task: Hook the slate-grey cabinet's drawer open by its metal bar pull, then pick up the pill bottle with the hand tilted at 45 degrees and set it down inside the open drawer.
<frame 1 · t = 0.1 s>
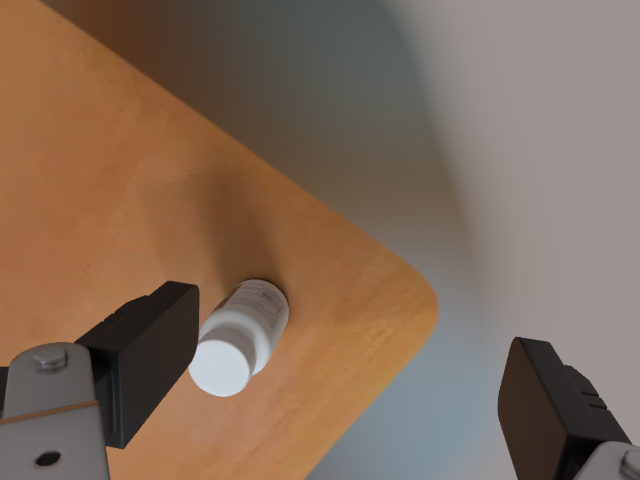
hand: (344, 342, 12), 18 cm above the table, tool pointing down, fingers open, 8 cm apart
pill bottle: (259, 306, 33), on the table
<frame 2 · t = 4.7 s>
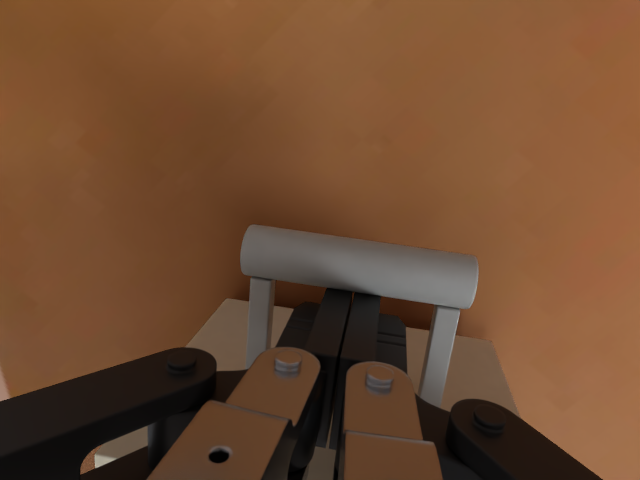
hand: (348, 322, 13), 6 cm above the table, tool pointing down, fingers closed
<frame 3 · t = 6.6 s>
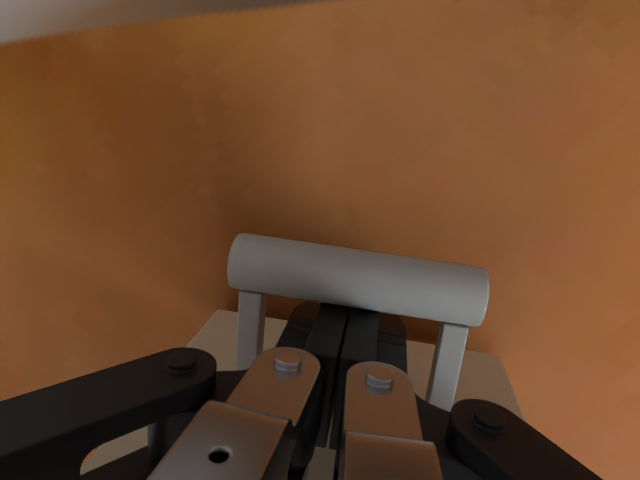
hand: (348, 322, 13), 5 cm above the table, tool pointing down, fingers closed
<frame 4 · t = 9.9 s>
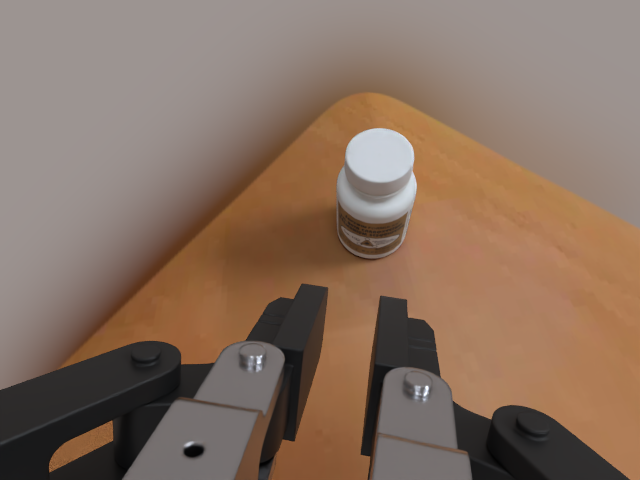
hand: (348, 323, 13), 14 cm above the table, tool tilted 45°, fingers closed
pill bottle: (371, 231, 31), on the table
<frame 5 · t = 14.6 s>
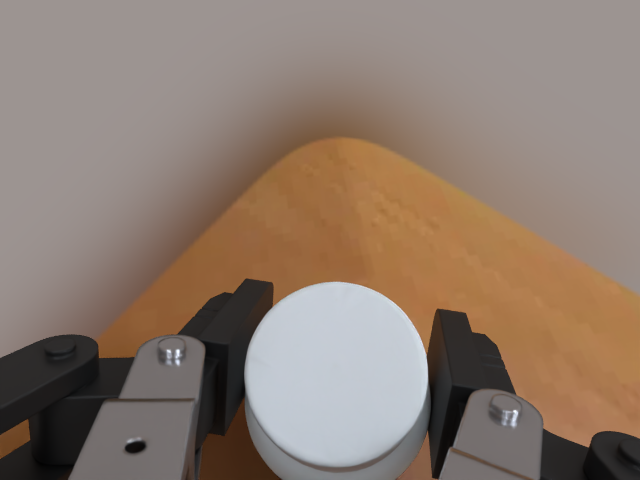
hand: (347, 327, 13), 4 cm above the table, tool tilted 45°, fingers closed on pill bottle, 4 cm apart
pill bottle: (337, 422, 16), on the table, touching gripper
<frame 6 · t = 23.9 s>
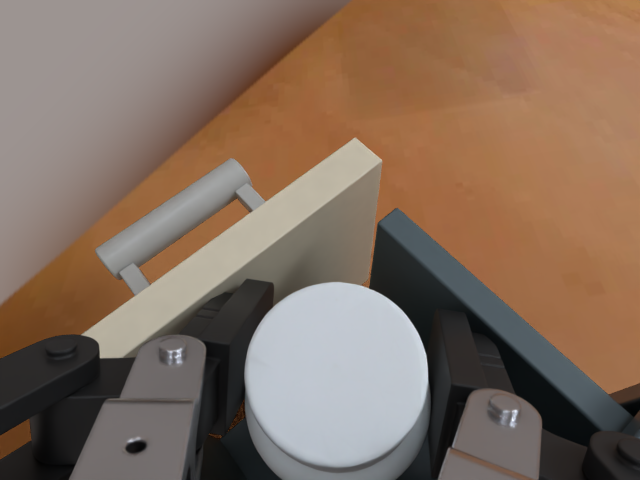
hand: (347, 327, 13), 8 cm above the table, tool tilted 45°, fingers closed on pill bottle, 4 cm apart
drawer: (325, 395, 15), point 5 cm above the table, slide at 8.6 cm
pill bottle: (338, 422, 16), point 4 cm above the table, touching gripper
when the fingers open (9 cm above the table, at t = 26.8 s): pill bottle stays where it is, resting on drawer.
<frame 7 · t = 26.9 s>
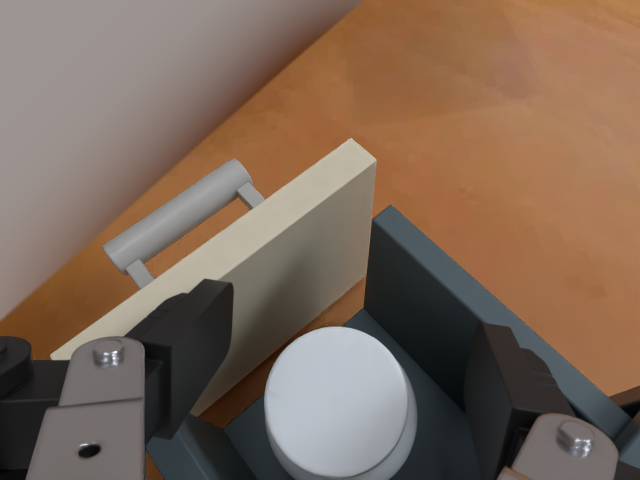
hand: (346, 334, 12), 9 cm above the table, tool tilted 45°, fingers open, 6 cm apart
drawer: (323, 384, 16), point 5 cm above the table, slide at 9.1 cm, touching gripper, pill bottle
pill bottle: (345, 424, 18), point 2 cm above the table, touching drawer
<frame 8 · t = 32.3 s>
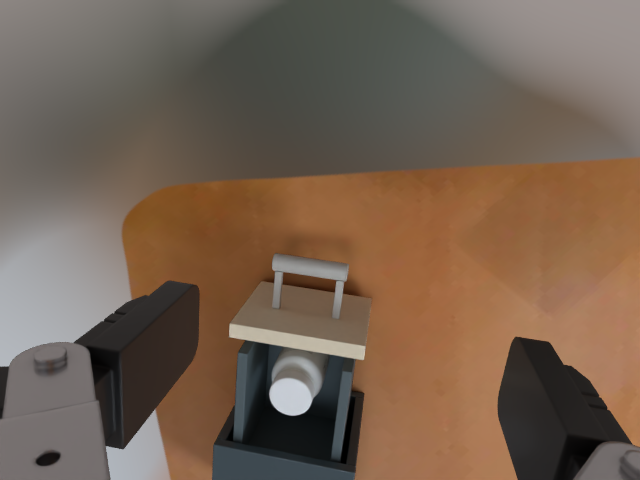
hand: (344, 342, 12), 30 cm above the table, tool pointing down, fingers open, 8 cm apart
drawer: (302, 355, 41), point 5 cm above the table, slide at 9.4 cm, touching pill bottle
cabinet: (300, 442, 50), on the table
pill bottle: (308, 346, 44), point 2 cm above the table, touching drawer
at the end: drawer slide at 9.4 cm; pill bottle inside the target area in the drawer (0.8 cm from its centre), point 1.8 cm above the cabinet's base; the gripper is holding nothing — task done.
